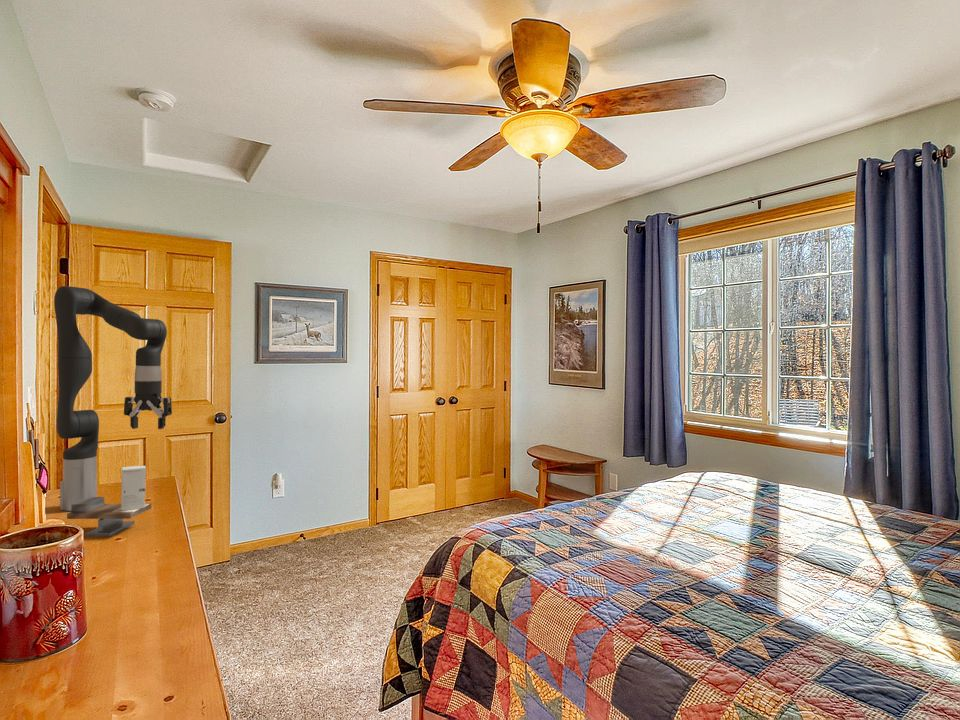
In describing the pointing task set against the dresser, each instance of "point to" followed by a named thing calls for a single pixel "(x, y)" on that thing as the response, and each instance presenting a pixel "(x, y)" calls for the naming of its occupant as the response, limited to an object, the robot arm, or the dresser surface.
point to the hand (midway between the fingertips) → (147, 428)
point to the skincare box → (133, 487)
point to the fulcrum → (109, 527)
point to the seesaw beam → (102, 510)
